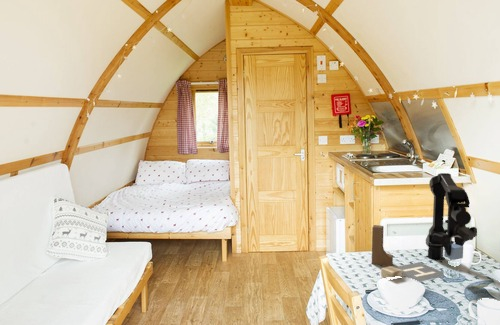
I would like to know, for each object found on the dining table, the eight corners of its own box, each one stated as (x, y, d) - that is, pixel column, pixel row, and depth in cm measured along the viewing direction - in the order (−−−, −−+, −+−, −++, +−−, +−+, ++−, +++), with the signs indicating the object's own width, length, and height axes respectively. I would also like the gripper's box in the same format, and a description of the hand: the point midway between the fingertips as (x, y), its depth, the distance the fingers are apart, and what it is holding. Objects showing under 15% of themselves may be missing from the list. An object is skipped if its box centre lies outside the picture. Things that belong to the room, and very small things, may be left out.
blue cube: (453, 254, 188) (453, 243, 188) (462, 258, 184) (463, 246, 183) (444, 256, 186) (444, 244, 186) (454, 259, 182) (454, 248, 181)
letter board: (419, 262, 206) (419, 262, 206) (450, 275, 190) (450, 275, 190) (389, 268, 200) (389, 267, 199) (418, 282, 183) (418, 281, 183)
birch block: (391, 274, 193) (391, 265, 192) (401, 279, 188) (402, 270, 187) (381, 277, 190) (381, 268, 189) (391, 281, 185) (391, 272, 184)
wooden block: (392, 264, 206) (393, 226, 204) (391, 267, 201) (392, 229, 199) (373, 261, 209) (373, 224, 207) (371, 264, 205) (372, 227, 203)
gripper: (454, 226, 172) (453, 264, 174) (487, 220, 179) (485, 257, 181) (432, 219, 182) (431, 255, 184) (464, 214, 190) (463, 249, 191)
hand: (453, 254), depth 185 cm, fingers closed on blue cube, 5 cm apart
